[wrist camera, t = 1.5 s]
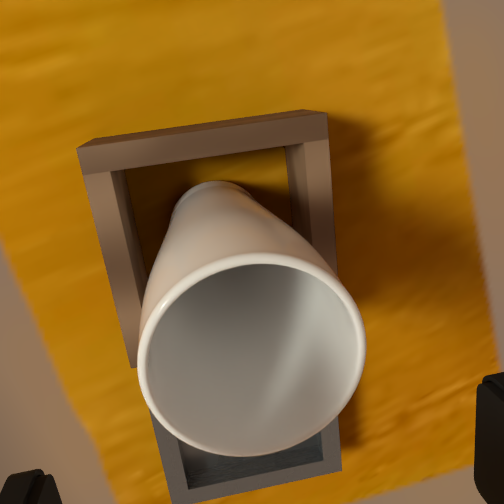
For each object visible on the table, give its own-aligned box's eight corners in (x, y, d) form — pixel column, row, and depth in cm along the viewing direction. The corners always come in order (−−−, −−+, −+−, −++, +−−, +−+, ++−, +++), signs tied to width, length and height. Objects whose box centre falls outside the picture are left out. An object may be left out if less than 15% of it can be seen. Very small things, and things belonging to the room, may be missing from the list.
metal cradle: (135, 337, 29) (131, 358, 26) (323, 302, 30) (335, 320, 28) (169, 479, 33) (168, 508, 30) (334, 443, 34) (346, 469, 31)
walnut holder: (93, 138, 25) (76, 148, 20) (302, 109, 26) (326, 112, 22) (138, 327, 29) (131, 368, 24) (318, 295, 30) (341, 328, 25)
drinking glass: (262, 283, 29) (342, 465, 15) (150, 271, 28) (122, 458, 14) (283, 175, 27) (398, 266, 13) (163, 156, 26) (146, 236, 12)
